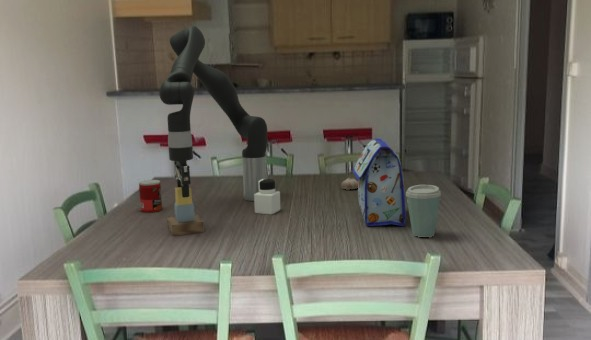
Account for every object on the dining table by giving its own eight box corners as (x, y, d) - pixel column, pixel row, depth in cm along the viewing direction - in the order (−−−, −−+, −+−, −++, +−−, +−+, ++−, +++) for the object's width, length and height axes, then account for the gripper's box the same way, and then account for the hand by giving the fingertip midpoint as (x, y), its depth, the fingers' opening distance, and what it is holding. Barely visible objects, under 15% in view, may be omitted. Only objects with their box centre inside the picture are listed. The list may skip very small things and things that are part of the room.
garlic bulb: (362, 188, 243) (362, 170, 241) (354, 191, 237) (354, 173, 235) (346, 186, 247) (346, 168, 245) (338, 190, 241) (338, 171, 239)
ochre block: (189, 201, 187) (188, 186, 186) (192, 204, 183) (191, 189, 182) (175, 202, 185) (174, 187, 185) (178, 205, 181) (177, 190, 180)
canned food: (157, 212, 209) (155, 183, 207) (137, 212, 211) (134, 183, 209) (165, 207, 217) (163, 179, 215) (146, 207, 218) (144, 179, 216)
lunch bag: (351, 210, 205) (351, 137, 201) (397, 209, 205) (398, 136, 200) (358, 228, 183) (357, 146, 178) (409, 227, 183) (410, 145, 178)
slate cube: (191, 216, 189) (190, 200, 188) (194, 220, 184) (193, 204, 183) (175, 218, 187) (174, 202, 186) (177, 222, 182) (176, 206, 181)
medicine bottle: (280, 210, 209) (279, 178, 207) (271, 214, 202) (270, 182, 200) (263, 208, 212) (262, 177, 210) (254, 213, 205) (253, 180, 203)
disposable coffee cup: (433, 242, 166) (434, 192, 164) (399, 237, 172) (399, 189, 169) (445, 233, 175) (446, 185, 173) (411, 228, 181) (412, 182, 178)
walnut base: (197, 224, 192) (197, 214, 192) (203, 232, 183) (203, 221, 182) (167, 227, 189) (167, 217, 188) (172, 235, 179) (171, 225, 179)
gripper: (196, 146, 176) (199, 197, 178) (188, 141, 189) (191, 189, 192) (172, 148, 173) (175, 200, 176) (165, 143, 186) (168, 191, 189)
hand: (183, 194), depth 184 cm, fingers open, 8 cm apart
